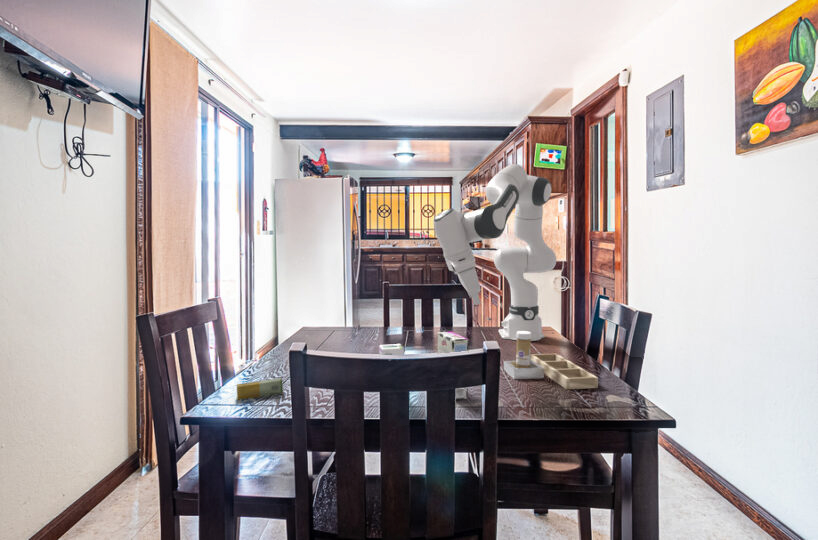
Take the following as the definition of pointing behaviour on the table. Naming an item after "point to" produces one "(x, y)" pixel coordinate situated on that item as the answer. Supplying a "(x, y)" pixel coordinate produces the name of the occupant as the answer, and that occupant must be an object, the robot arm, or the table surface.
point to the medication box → (259, 388)
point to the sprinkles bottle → (523, 349)
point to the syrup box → (391, 349)
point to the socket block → (524, 370)
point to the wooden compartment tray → (565, 372)
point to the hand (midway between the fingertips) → (475, 300)
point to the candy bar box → (453, 344)
